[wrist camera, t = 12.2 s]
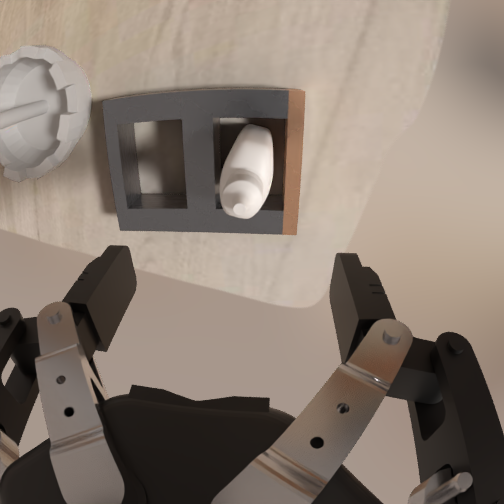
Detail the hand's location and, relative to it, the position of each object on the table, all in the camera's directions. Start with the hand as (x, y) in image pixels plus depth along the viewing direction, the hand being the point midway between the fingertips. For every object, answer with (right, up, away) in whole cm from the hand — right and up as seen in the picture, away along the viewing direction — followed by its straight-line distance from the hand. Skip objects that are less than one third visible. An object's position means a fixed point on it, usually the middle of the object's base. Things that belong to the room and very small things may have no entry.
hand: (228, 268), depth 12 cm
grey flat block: (-3, +9, +15) cm, 18 cm away
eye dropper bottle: (+1, +9, +15) cm, 18 cm away
